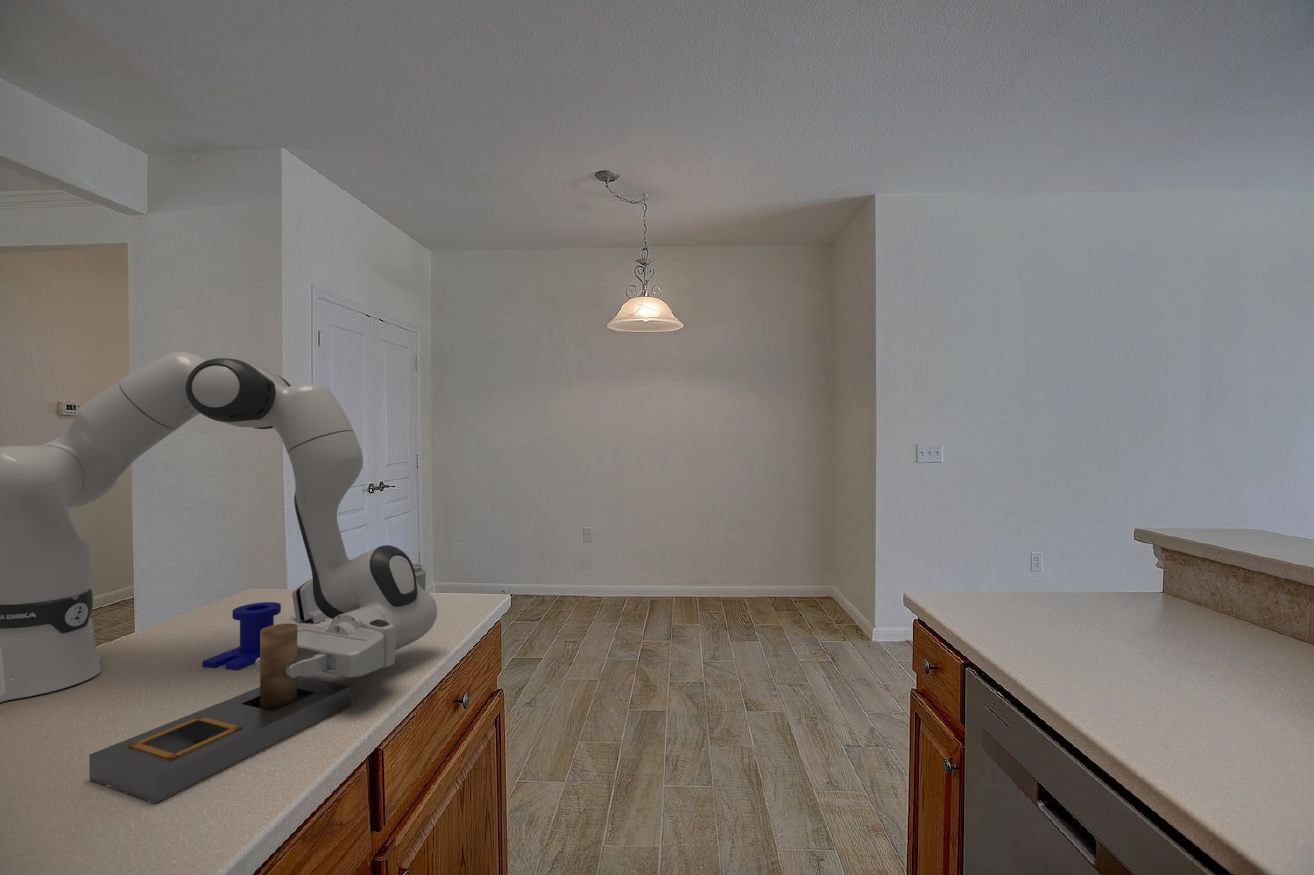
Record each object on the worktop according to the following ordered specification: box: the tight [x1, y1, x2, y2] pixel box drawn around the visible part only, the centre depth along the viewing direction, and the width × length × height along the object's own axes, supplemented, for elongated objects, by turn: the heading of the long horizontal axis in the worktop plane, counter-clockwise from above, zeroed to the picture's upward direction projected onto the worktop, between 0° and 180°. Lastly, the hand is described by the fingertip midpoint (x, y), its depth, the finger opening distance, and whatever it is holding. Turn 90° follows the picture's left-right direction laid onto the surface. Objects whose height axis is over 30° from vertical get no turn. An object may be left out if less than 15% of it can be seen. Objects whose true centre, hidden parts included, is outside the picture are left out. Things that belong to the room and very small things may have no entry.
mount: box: [201, 601, 282, 671], centre depth 111 cm, size 15×8×9 cm, turn 169°
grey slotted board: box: [88, 675, 352, 805], centre depth 79 cm, size 12×26×3 cm, turn 159°
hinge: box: [291, 578, 329, 624], centre depth 137 cm, size 17×5×10 cm, turn 166°
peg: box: [259, 623, 298, 712], centre depth 85 cm, size 4×4×13 cm
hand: (273, 668), depth 84 cm, fingers closed on peg, 4 cm apart
